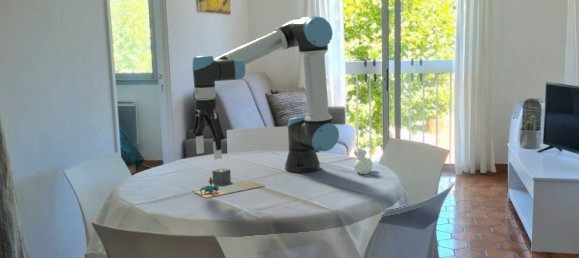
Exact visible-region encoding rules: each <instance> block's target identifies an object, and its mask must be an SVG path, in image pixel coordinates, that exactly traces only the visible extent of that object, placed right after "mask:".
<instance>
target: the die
mask: <svg viewBox="0 0 579 258" xmlns="http://www.w3.org/2000/svg"><path fill="white" fill-rule="evenodd" d="M212 180H213V181H214V183H215V184H216V185H217V184H218V185H224V184H228V183H231V180H232V179H231V169H226V168H218V169H215V170H212ZM214 183H213V184H214Z"/></svg>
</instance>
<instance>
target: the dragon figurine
mask: <svg viewBox="0 0 579 258" xmlns="http://www.w3.org/2000/svg"><path fill="white" fill-rule="evenodd" d="M208 182H209V185H205V186H203V187H201V188H200V189H199V191H200V192H201V191H202V190H204V191H205V192H204V193H206V192H207V191H208V192H209V193H211V192H212V191H213V190H215V191H218V190H219V188H218V187H219V186H218V185H217V183H214V181H213V177H211V176H210V177H209V180H208ZM213 184H214V186H213ZM194 192H196V191H194V190H193V191H192V193H194ZM196 193H197V192H196ZM196 195H198V196H200V195H202V192H201V194H198V193H197V194H196Z"/></svg>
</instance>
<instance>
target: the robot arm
mask: <svg viewBox="0 0 579 258" xmlns="http://www.w3.org/2000/svg"><path fill="white" fill-rule="evenodd" d="M332 39H333V29H332V26H331V24H330V22H329V21H328V20H327V19H326V18H324V17H321V16H316V15H315V16H314V15H313V16H305V17H296V18H294V19H292V20H289V21H287V22H286V23H283V24H282V25H280V26H277V27H276V28H274V29H273V31H272V32H270V33H267V34H266V35H263V36H261V37H259V38H257V39H255V40H253V41H251V42H247V43H246V44H243V45H241V46H239V47H237V48H235V49H232V50H231V51H228V52H226V53H223V54H222V55H219V56H217V57H215V58H214V56H213V55H197V56H194V57H192V74H193V85H194V86H193V87H194V89H193V94H194V98H195V100H194V103H195V104H194V106H195V108H194V109H195V110H194V120H193V124H192V132H191V133H192V134H193V135H194V137H195V146H196V155H198V154H203V153H204V154H205V147H204V146H205V145H204V133H203V132H204V129H205V127H206V126H207V127H208V128H209V129H208V130H209V131H210V134H211V136H212V138H213V140H212V145H213V147H212V148H213V160H219V159H222V158H223V157H222V153H223V152H222V140H225V136H224V132H223V127H222V125H221V122H220V118H219V117H220V116H219V113H218V112H214V110H216V108H217V99H216V94H217V93H216V82H223V81H225V82H226V81H238V80H242V79H244V78H245V74H246V66H247V65H249V64H251V63H254V62H256V61H258V60H260V59H262V58H265V57H266V56H267V57H268V56H269V55H271V54H273V53H275V52H277V51H279V50H281V51H286V50H287V49H290V48H296V47H297V48H298V53H299V54H301V56H302V58H303V69H304V70H303V72H304V84H305V99H306V111H307V112H306V113H307V114H306V115H305V116H296V117H295V116H294V117H290V118H289V119H288V121H287V132H288V135H287V136H288V137H287V138H288V153H287V157H286V161H285V164H284V165H285V167H284V169H285V171H287V172H291V173H312V172H317V171H319V170H320V169H321V165H320V160H319V157H318V155H317V152H316V151H319V152H328V151H330V150H332V149H334V147H335V146H336V145H337V143H338V141H339V138H340V137H339V136H340V132H339V128H338V127H336V125H335V124H334V121H333V115H331V114H330V113H329V101H328V88H327V87H328V86H327V73H326V72H327V71H326V60H325V59H326V58H325V57H326V56H325V55H326V53H327V51H328V50H329V46H328V45H329V44H330V43H331V41H332Z"/></svg>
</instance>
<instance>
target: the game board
mask: <svg viewBox="0 0 579 258" xmlns="http://www.w3.org/2000/svg"><path fill="white" fill-rule="evenodd" d="M265 186H266V185H264V184H261V183H258V182H256V181H253V180H248V181H244V182H238V183H233V184H228V185H223V186H218V188H219V190H218V191H215V190H213V191H212V192H211V193H209V192H208V191H207V192H206V193H204V192H205V191H204V190H202V191H201V192H202V195H199V196H200V197H202V198H205V199H210V198H213V197H218V196H223V195H224V196H225V195H229V194H234V193H235V194H236V193H239V192H244V191H249V190H252V189H259V188H263V187H265ZM196 192H197V193H198V194H201V192H200V190H196V191H195V192H193V194H196V195H198V194H197V193H196Z"/></svg>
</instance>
